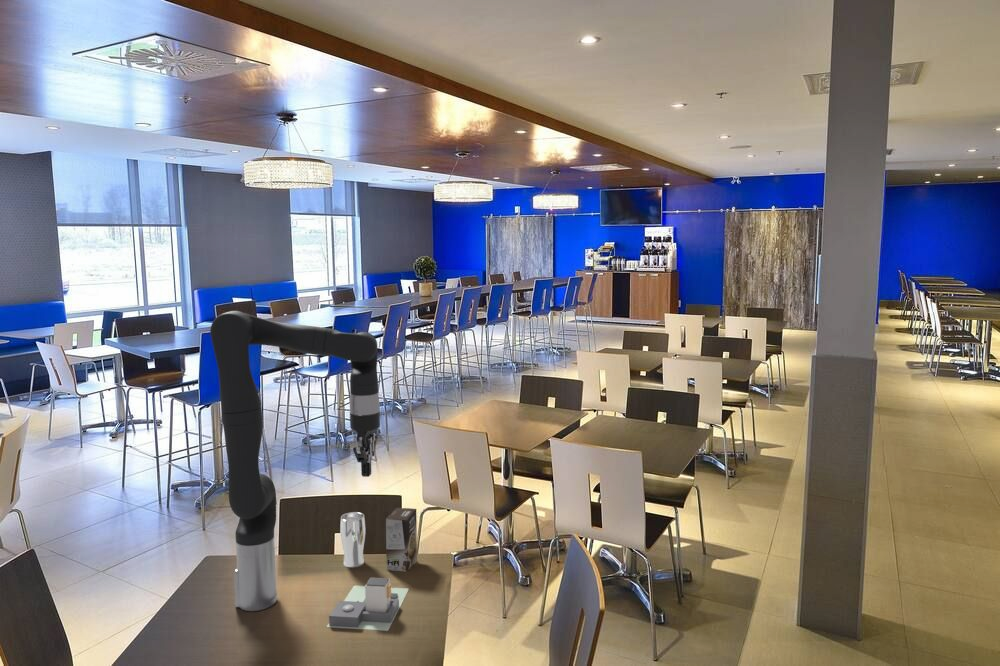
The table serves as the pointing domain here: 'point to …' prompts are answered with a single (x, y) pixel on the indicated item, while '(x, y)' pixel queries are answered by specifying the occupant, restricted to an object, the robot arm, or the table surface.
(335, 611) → the grey button block
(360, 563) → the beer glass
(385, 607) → the plug
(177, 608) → the table surface
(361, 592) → the board
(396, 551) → the coffee box
